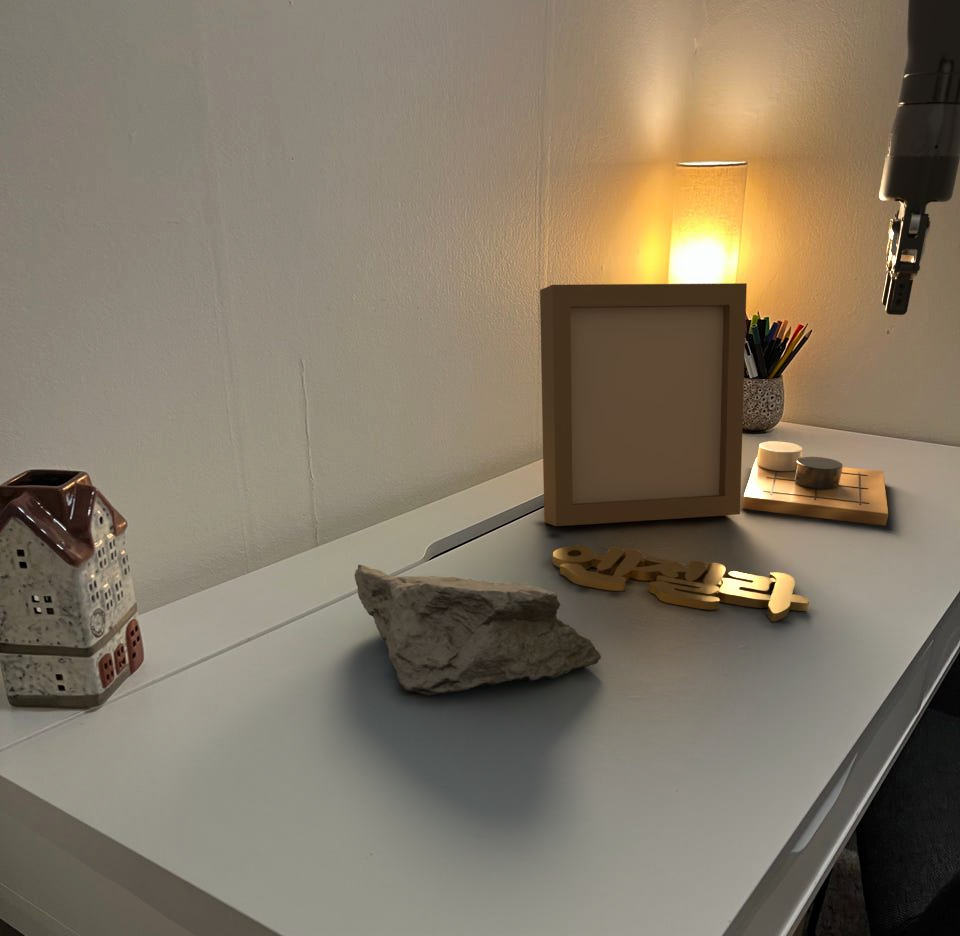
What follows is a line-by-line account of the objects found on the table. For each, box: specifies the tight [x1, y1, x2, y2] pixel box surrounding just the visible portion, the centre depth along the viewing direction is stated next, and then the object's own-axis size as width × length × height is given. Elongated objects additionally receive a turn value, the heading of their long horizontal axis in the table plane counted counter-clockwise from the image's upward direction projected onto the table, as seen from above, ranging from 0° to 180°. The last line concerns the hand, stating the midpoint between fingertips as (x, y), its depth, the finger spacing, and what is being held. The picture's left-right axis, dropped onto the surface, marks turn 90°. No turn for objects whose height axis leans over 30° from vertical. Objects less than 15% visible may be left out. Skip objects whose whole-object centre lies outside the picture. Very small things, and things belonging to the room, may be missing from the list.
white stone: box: [756, 440, 804, 471], centre depth 124 cm, size 5×5×2 cm
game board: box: [741, 457, 889, 527], centre depth 118 cm, size 16×18×2 cm
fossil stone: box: [354, 564, 602, 697], centre depth 76 cm, size 20×15×10 cm
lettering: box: [551, 544, 810, 622], centre depth 92 cm, size 25×10×1 cm, turn 68°
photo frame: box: [539, 282, 748, 527], centre depth 107 cm, size 15×22×25 cm
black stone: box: [794, 456, 844, 489], centre depth 117 cm, size 5×5×2 cm
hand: (893, 309), depth 111 cm, fingers open, 8 cm apart
